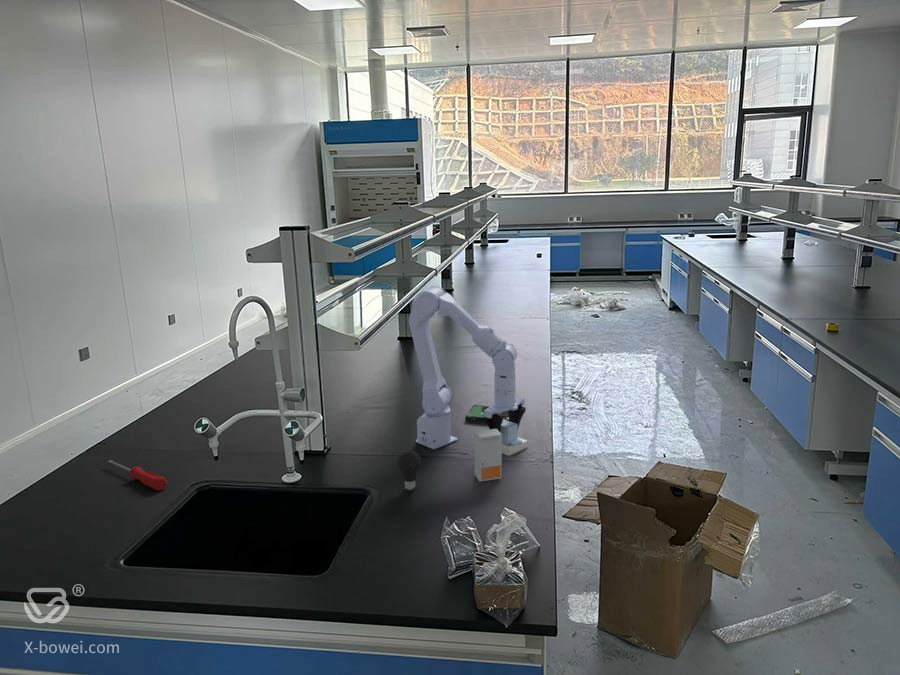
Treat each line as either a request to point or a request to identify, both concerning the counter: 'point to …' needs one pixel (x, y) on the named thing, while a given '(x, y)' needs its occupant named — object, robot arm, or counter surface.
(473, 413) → the disk drive
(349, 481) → the counter surface
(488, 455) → the skincare box
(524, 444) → the frame
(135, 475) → the screwdriver
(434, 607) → the counter surface
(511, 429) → the block
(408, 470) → the light bulb
